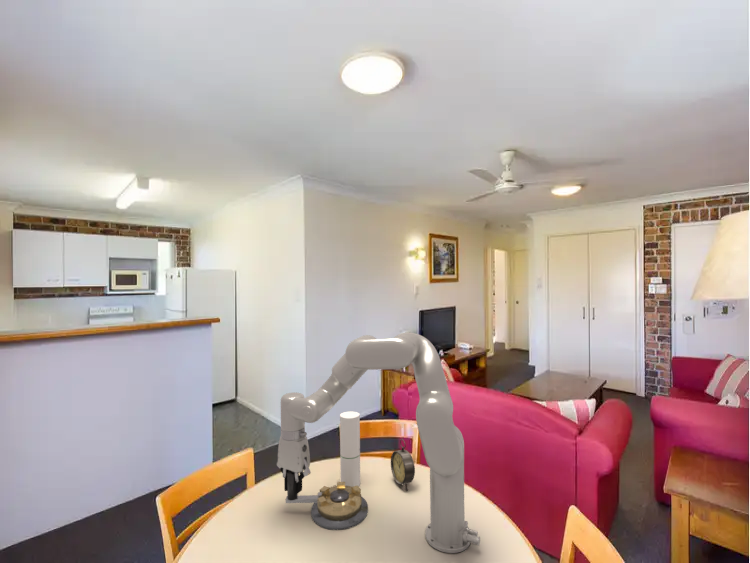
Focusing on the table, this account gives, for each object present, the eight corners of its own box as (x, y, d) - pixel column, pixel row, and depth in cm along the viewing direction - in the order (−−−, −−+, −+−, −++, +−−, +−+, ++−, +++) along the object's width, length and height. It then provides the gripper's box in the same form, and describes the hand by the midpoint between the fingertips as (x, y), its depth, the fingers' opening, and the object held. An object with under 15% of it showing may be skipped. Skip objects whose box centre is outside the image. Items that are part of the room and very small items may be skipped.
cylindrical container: (361, 479, 135) (360, 411, 135) (358, 489, 128) (358, 418, 128) (342, 478, 136) (342, 411, 136) (338, 488, 128) (338, 418, 129)
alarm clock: (389, 479, 135) (389, 435, 135) (402, 475, 137) (402, 432, 137) (404, 494, 125) (403, 446, 125) (418, 490, 127) (417, 443, 127)
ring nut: (362, 493, 123) (361, 460, 123) (361, 519, 109) (360, 482, 109) (291, 494, 123) (290, 461, 123) (280, 521, 109) (280, 484, 109)
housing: (378, 504, 119) (378, 500, 119) (346, 537, 103) (346, 533, 103) (333, 489, 128) (333, 486, 128) (299, 518, 112) (299, 514, 112)
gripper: (320, 433, 116) (321, 491, 115) (282, 424, 124) (282, 478, 123) (305, 442, 109) (305, 504, 109) (265, 432, 117) (265, 489, 117)
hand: (293, 490), depth 116 cm, fingers closed on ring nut, 3 cm apart
